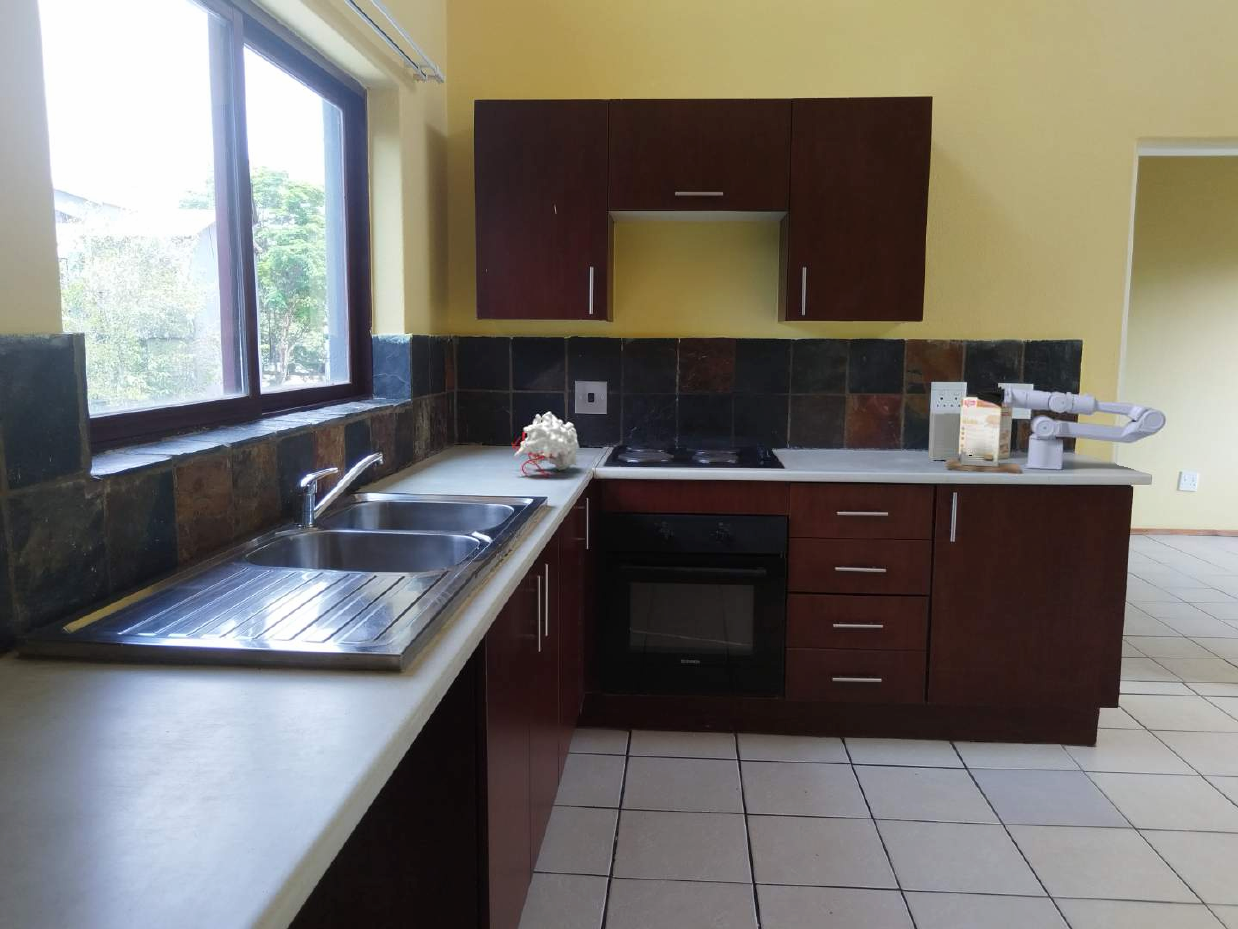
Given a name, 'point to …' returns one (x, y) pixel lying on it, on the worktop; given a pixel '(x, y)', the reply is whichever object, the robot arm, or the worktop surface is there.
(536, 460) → the molecular structure model
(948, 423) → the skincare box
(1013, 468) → the board
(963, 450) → the panel
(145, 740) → the worktop surface
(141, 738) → the worktop surface
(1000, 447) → the coffeecake box
